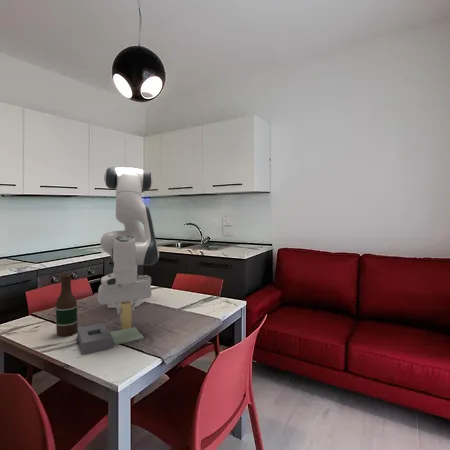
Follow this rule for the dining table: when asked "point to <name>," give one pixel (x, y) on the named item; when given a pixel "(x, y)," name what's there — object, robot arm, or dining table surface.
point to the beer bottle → (66, 309)
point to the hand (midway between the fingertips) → (125, 311)
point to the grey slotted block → (94, 338)
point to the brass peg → (126, 315)
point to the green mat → (126, 335)
